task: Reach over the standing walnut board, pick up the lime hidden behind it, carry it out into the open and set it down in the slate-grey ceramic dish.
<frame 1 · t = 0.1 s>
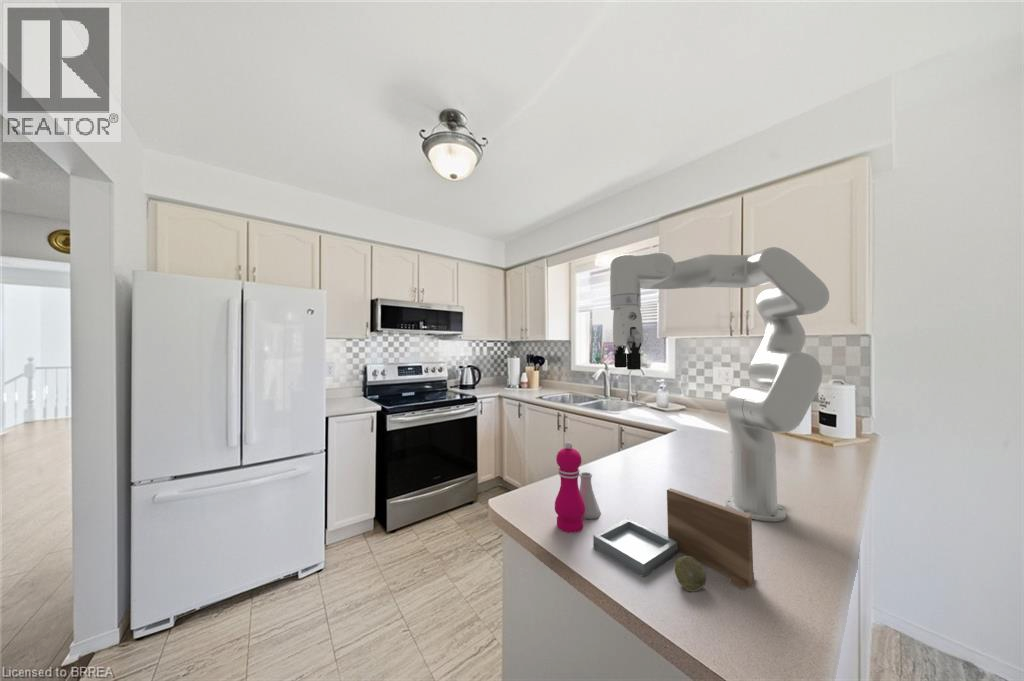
hand: (626, 368, 87), 37 cm above the counter, tool pointing down, fingers open, 9 cm apart
slate dish: (634, 550, 70), on the counter
flask: (586, 513, 86), on the counter
lime: (689, 587, 59), on the counter
pepper mill: (570, 526, 80), on the counter
walnut board: (707, 563, 65), on the counter
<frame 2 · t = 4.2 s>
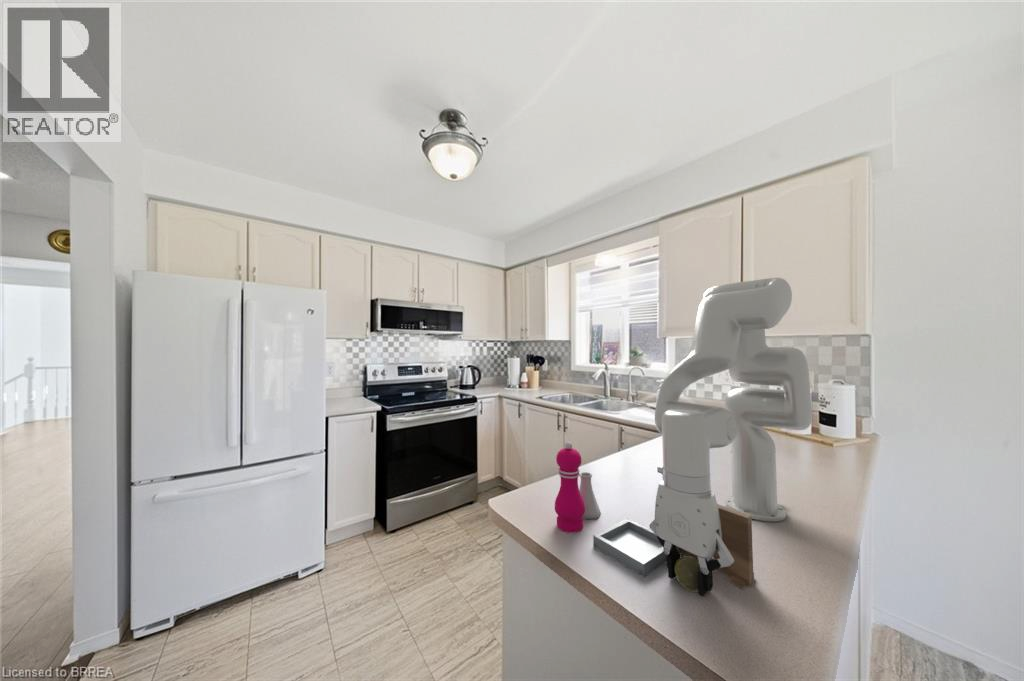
hand: (689, 582, 59), 1 cm above the counter, tool pointing down, fingers closed on lime, 4 cm apart
lime: (689, 587, 59), on the counter, touching gripper
everything else where it was.
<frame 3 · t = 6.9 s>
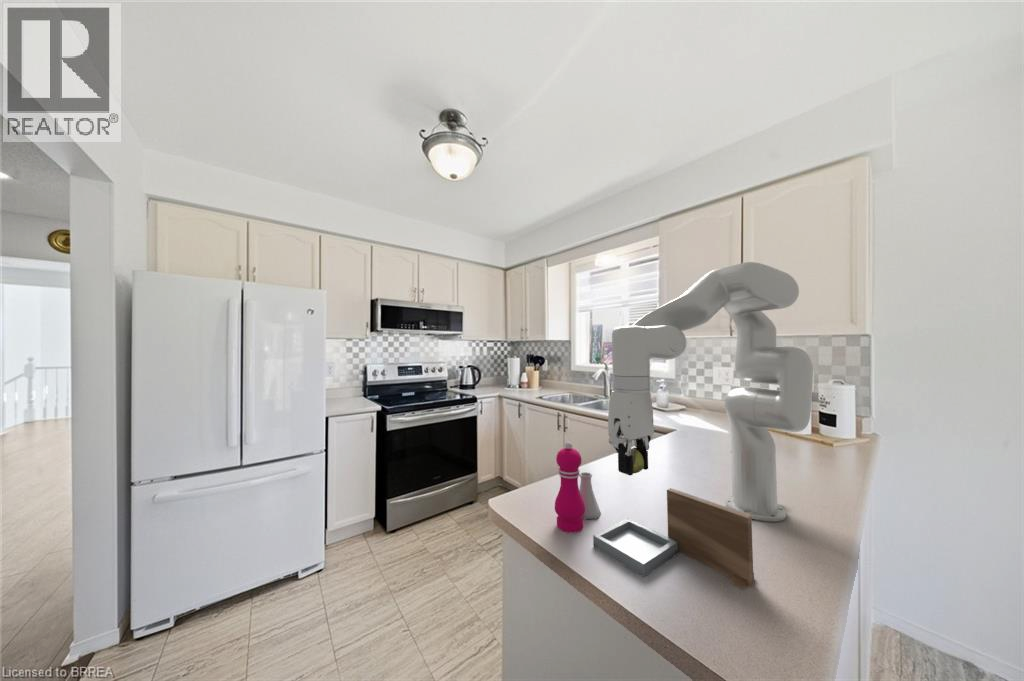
hand: (633, 469, 70), 17 cm above the counter, tool pointing down, fingers closed on lime, 4 cm apart
lime: (633, 473, 70), point 16 cm above the counter, touching gripper
everything else where it was.
when the fingers open (3 cm above the counter, at t = 9.3 s): lime drops 1 cm, resting on slate dish.
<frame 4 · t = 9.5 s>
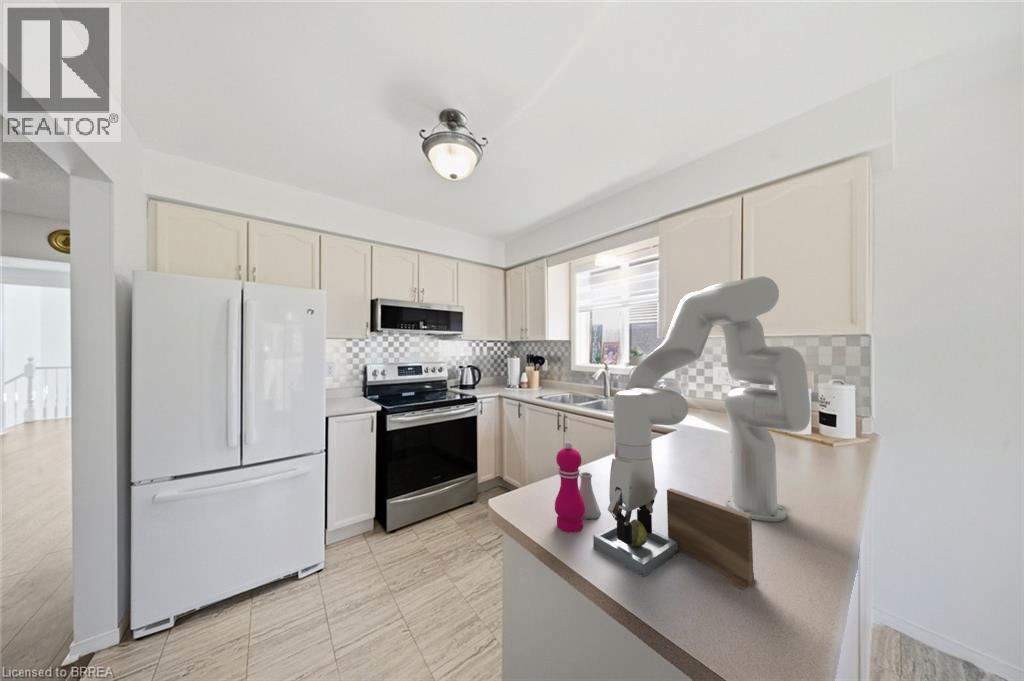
hand: (634, 535, 70), 3 cm above the counter, tool pointing down, fingers open, 6 cm apart
lime: (636, 545, 70), point 1 cm above the counter, touching slate dish
everything else where it was.
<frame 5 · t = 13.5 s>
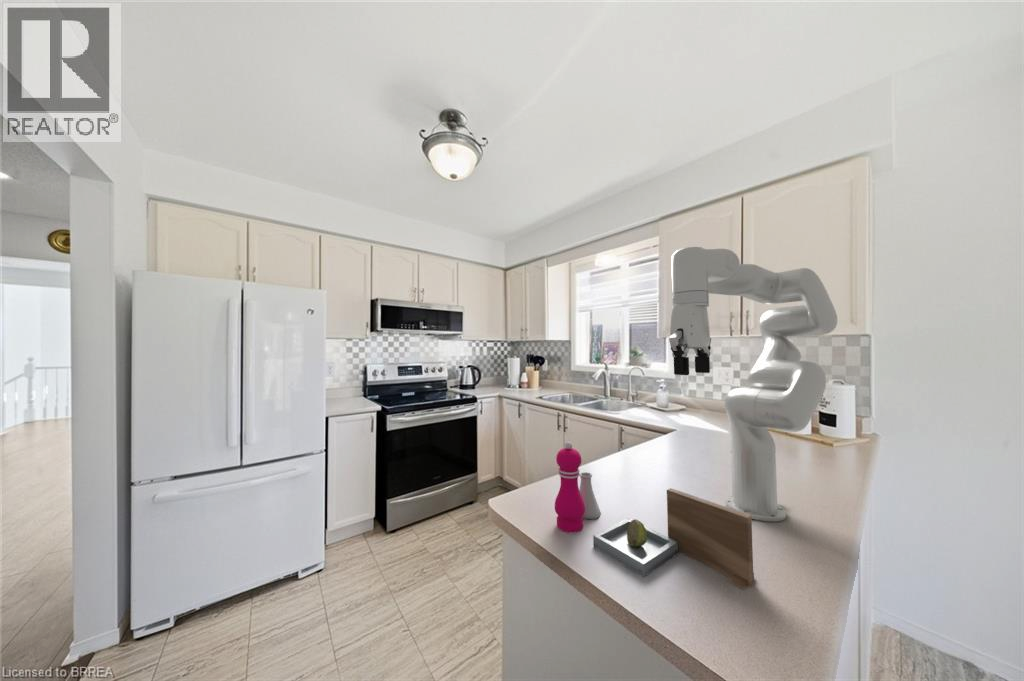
hand: (692, 373, 78), 36 cm above the counter, tool pointing down, fingers open, 9 cm apart
nothing on the counter moved.
at the end: lime inside the target area on the slate dish (0.4 cm from its centre), point 0.8 cm above the slate dish's base; the gripper is holding nothing; lime inside the target area (3.5 cm from its centre), point 0.8 cm above the counter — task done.
